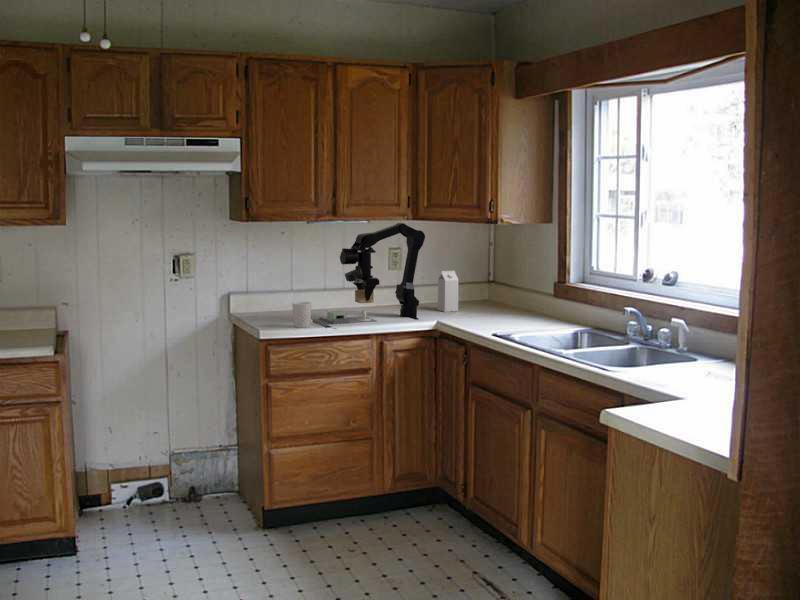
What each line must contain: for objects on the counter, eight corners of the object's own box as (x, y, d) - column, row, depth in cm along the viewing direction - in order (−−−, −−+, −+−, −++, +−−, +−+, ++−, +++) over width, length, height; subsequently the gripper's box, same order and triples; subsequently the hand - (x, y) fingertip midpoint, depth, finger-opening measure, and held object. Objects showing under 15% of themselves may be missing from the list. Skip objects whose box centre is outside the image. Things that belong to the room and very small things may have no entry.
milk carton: (437, 310, 421) (438, 270, 419) (450, 309, 424) (451, 269, 422) (444, 312, 415) (445, 271, 412) (458, 311, 418) (458, 271, 415)
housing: (340, 319, 381) (340, 310, 381) (346, 322, 375) (346, 312, 375) (327, 320, 379) (327, 311, 378) (333, 323, 373) (333, 313, 372)
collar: (367, 300, 387) (367, 289, 386) (373, 302, 381) (373, 291, 381) (355, 301, 384) (355, 290, 383) (360, 303, 379) (360, 291, 378)
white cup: (302, 324, 378) (301, 301, 377) (315, 326, 373) (315, 302, 372) (288, 326, 372) (288, 303, 371) (301, 328, 367) (301, 304, 366)
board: (363, 318, 394) (363, 307, 394) (378, 324, 380) (378, 311, 379) (312, 322, 384) (312, 310, 383) (325, 327, 370) (325, 315, 369)
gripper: (338, 262, 385) (338, 298, 387) (355, 266, 369) (355, 303, 371) (362, 261, 390) (362, 296, 392) (379, 265, 373) (379, 302, 375)
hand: (364, 299), depth 382 cm, fingers closed on collar, 6 cm apart
